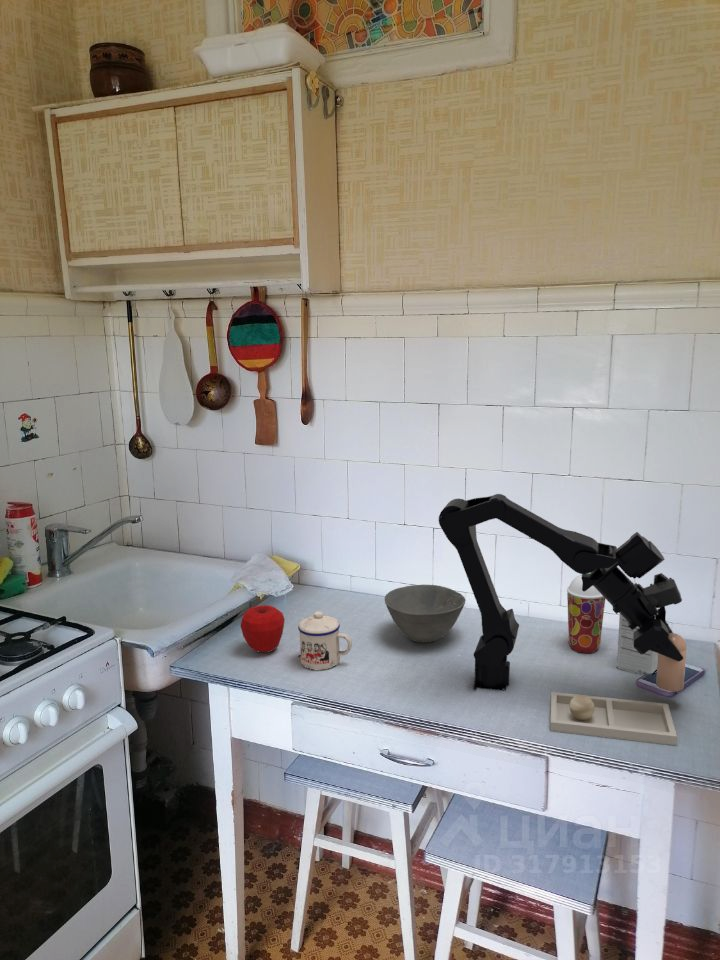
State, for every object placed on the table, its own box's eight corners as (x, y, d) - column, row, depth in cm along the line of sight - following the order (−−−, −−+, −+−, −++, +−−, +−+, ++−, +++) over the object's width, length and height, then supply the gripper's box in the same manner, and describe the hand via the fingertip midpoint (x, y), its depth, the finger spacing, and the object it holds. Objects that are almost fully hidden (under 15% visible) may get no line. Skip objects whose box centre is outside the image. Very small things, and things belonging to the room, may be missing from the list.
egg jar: (657, 690, 135) (661, 638, 132) (654, 677, 139) (657, 627, 137) (685, 692, 133) (689, 640, 131) (681, 680, 138) (685, 629, 136)
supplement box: (627, 655, 158) (630, 601, 156) (662, 665, 154) (666, 609, 151) (615, 668, 153) (618, 612, 150) (651, 678, 148) (655, 621, 145)
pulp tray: (550, 733, 130) (550, 722, 129) (550, 702, 140) (551, 691, 139) (676, 748, 124) (677, 736, 124) (667, 715, 134) (667, 703, 134)
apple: (235, 656, 163) (232, 611, 161) (254, 638, 172) (252, 596, 170) (275, 662, 160) (272, 616, 158) (292, 643, 169) (290, 600, 166)
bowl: (478, 649, 163) (478, 607, 161) (398, 660, 159) (397, 618, 157) (448, 617, 181) (448, 579, 179) (376, 627, 177) (375, 588, 175)
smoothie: (581, 636, 168) (585, 555, 164) (611, 649, 161) (615, 564, 157) (557, 645, 164) (559, 562, 159) (586, 659, 157) (590, 572, 153)
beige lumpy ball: (569, 723, 132) (570, 701, 131) (568, 710, 136) (569, 689, 135) (594, 725, 131) (595, 703, 130) (593, 713, 135) (594, 691, 134)
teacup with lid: (293, 668, 157) (290, 618, 154) (309, 650, 165) (307, 602, 163) (345, 675, 153) (343, 624, 150) (359, 657, 161) (357, 608, 159)
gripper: (658, 583, 124) (724, 651, 123) (652, 550, 141) (709, 609, 140) (607, 621, 128) (670, 686, 127) (607, 584, 145) (663, 642, 144)
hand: (680, 653), depth 134 cm, fingers closed on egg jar, 5 cm apart
